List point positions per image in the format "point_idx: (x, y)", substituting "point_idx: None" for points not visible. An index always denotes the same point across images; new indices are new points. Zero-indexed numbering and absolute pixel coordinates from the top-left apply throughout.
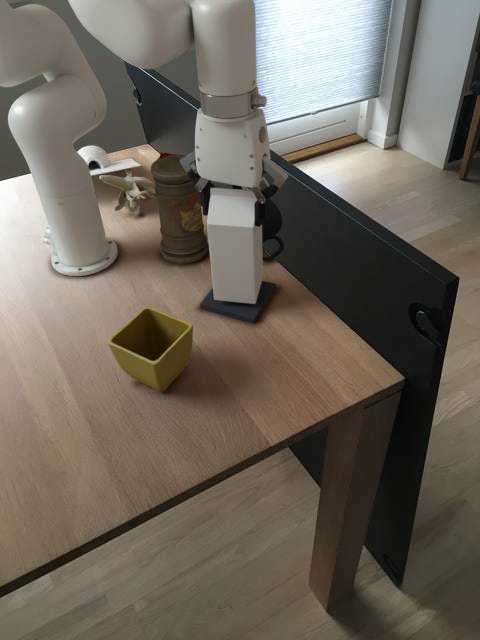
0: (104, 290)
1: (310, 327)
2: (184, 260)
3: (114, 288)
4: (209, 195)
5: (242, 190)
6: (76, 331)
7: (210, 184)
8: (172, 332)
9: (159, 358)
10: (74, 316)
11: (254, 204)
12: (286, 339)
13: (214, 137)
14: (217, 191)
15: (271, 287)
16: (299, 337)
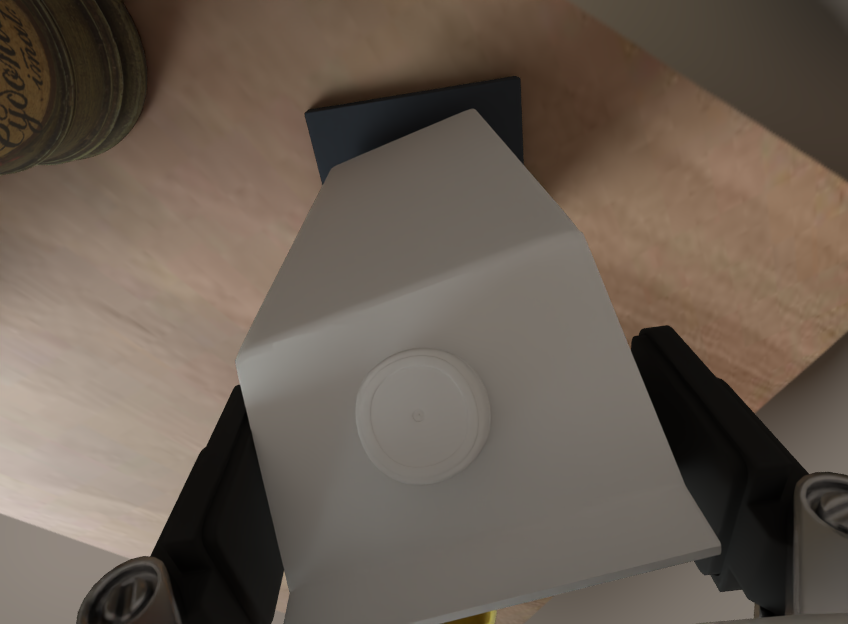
0: (68, 363)
1: (685, 196)
2: (120, 138)
3: (80, 345)
4: (261, 550)
5: (573, 590)
6: (171, 476)
7: (208, 596)
8: None
9: (492, 620)
10: (118, 453)
11: (700, 570)
12: (631, 271)
13: None
14: (345, 617)
15: (511, 108)
16: (663, 248)
